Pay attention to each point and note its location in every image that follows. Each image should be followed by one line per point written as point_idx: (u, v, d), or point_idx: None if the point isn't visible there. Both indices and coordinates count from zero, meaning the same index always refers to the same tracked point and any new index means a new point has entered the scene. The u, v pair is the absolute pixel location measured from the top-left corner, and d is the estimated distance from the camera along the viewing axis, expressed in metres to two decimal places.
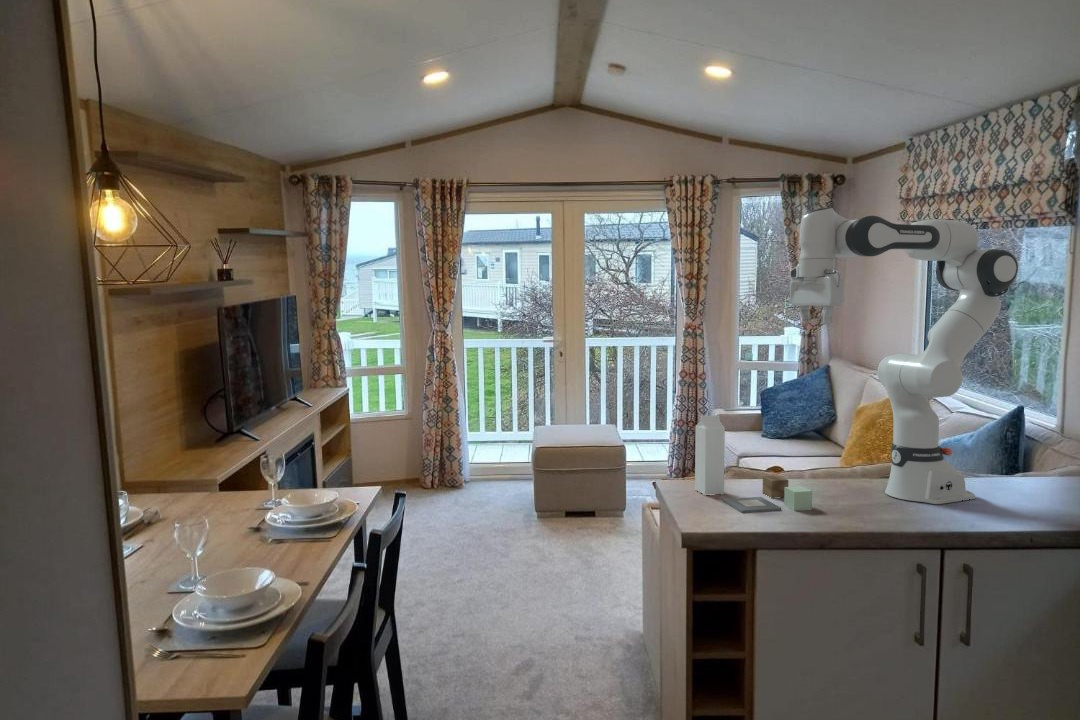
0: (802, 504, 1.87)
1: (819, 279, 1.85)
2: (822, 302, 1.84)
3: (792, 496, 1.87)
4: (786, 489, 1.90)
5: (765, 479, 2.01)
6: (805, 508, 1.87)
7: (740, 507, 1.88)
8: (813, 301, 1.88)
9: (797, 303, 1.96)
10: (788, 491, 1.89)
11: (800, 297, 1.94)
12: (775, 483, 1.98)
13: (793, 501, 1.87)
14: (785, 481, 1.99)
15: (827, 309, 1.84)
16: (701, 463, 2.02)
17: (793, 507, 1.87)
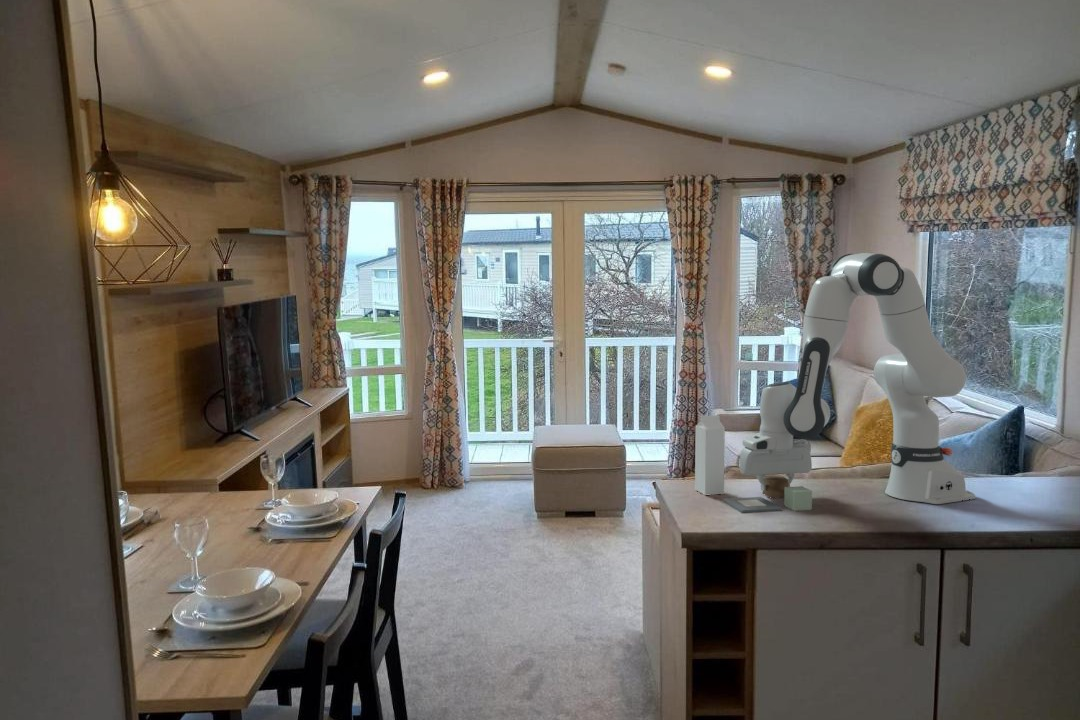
0: (802, 503, 1.87)
1: (793, 449, 1.99)
2: (798, 470, 2.00)
3: (792, 496, 1.87)
4: (786, 489, 1.90)
5: (765, 479, 2.01)
6: (805, 508, 1.87)
7: (740, 507, 1.88)
8: (785, 470, 1.99)
9: (758, 473, 1.98)
10: (788, 491, 1.89)
11: (763, 467, 1.98)
12: (775, 483, 1.98)
13: (793, 501, 1.87)
14: (785, 481, 1.99)
15: None
16: (701, 463, 2.02)
17: (793, 507, 1.87)
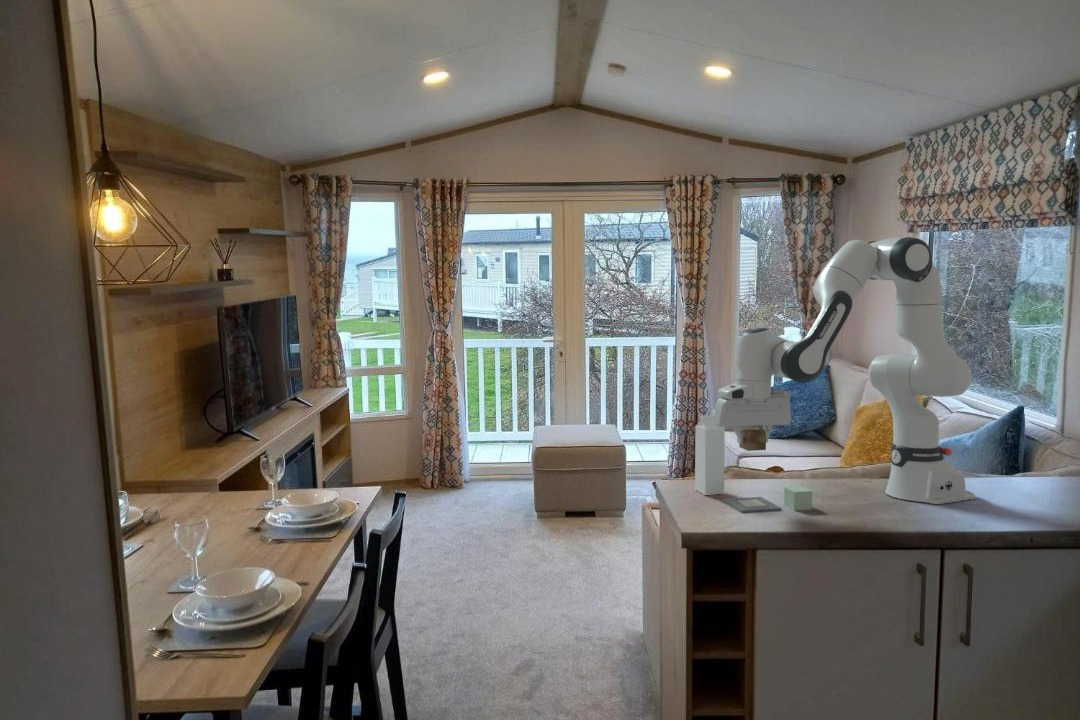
0: (802, 503, 1.87)
1: (771, 400, 1.88)
2: (777, 421, 1.89)
3: (792, 496, 1.87)
4: (786, 489, 1.90)
5: (742, 431, 1.90)
6: (805, 508, 1.87)
7: (740, 507, 1.88)
8: (762, 421, 1.88)
9: (733, 424, 1.87)
10: (788, 491, 1.89)
11: (739, 418, 1.87)
12: (752, 434, 1.87)
13: (793, 501, 1.87)
14: (763, 432, 1.88)
15: None
16: (701, 463, 2.02)
17: (793, 507, 1.87)
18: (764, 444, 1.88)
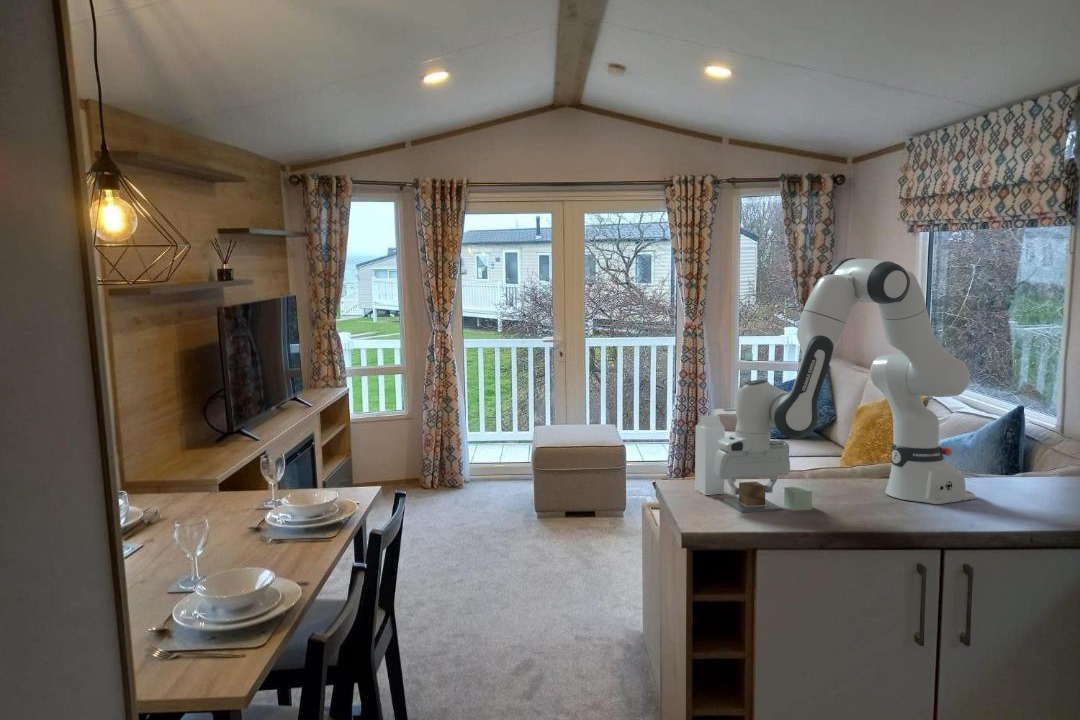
0: (802, 503, 1.87)
1: (771, 451, 1.89)
2: (776, 473, 1.90)
3: (792, 496, 1.87)
4: (786, 489, 1.90)
5: (741, 485, 1.92)
6: (805, 508, 1.87)
7: (740, 507, 1.88)
8: (761, 472, 1.89)
9: (733, 476, 1.88)
10: (788, 491, 1.89)
11: (738, 470, 1.88)
12: (751, 490, 1.88)
13: (793, 501, 1.87)
14: (762, 487, 1.89)
15: None
16: (701, 463, 2.02)
17: (793, 507, 1.87)
18: (763, 499, 1.89)
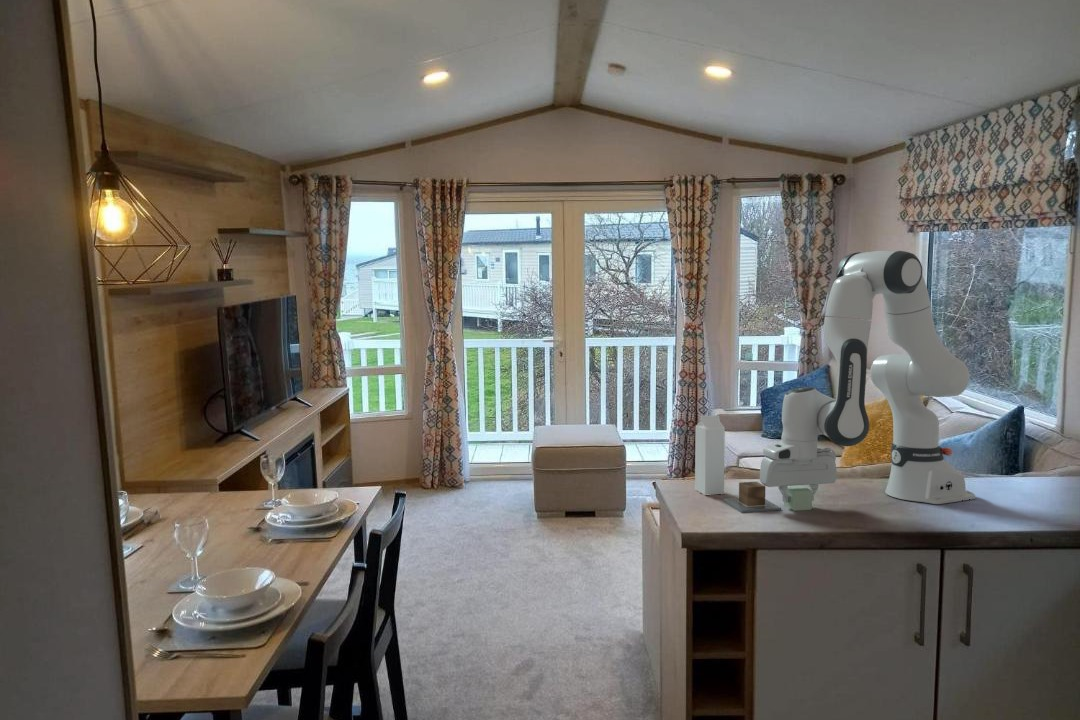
0: (802, 503, 1.87)
1: (817, 459, 1.87)
2: (823, 480, 1.88)
3: (792, 496, 1.87)
4: None
5: (741, 485, 1.92)
6: (805, 508, 1.87)
7: (740, 507, 1.88)
8: (808, 480, 1.87)
9: (780, 484, 1.86)
10: (788, 491, 1.89)
11: (785, 478, 1.86)
12: (751, 490, 1.88)
13: (793, 500, 1.87)
14: (762, 487, 1.89)
15: None
16: (701, 463, 2.02)
17: (793, 507, 1.87)
18: (763, 499, 1.89)
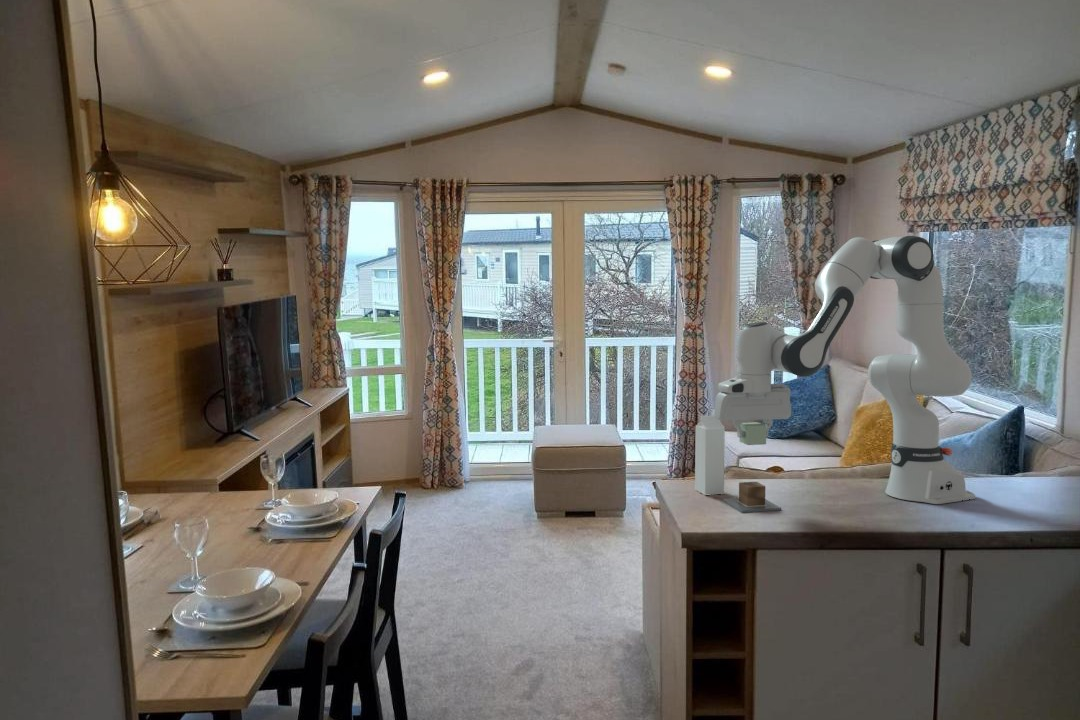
0: (757, 438, 1.87)
1: (772, 394, 1.88)
2: (777, 416, 1.89)
3: (747, 430, 1.88)
4: None
5: (741, 485, 1.92)
6: (759, 442, 1.88)
7: (740, 507, 1.88)
8: (762, 415, 1.88)
9: (734, 418, 1.87)
10: (743, 426, 1.90)
11: (739, 412, 1.87)
12: (751, 490, 1.88)
13: (747, 435, 1.87)
14: (762, 487, 1.89)
15: None
16: (701, 463, 2.02)
17: (747, 441, 1.87)
18: (763, 499, 1.89)
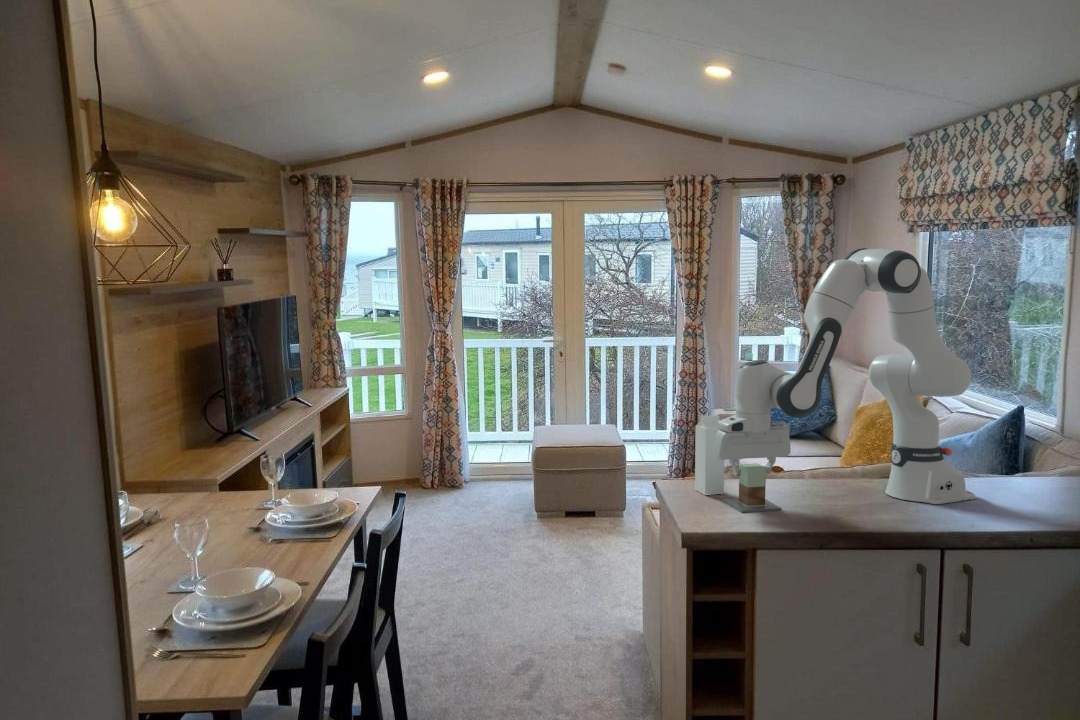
0: (756, 480, 1.88)
1: (771, 432, 1.89)
2: (776, 453, 1.90)
3: (746, 473, 1.88)
4: (741, 466, 1.92)
5: (741, 485, 1.92)
6: (759, 484, 1.89)
7: (740, 507, 1.88)
8: (762, 453, 1.89)
9: (733, 457, 1.88)
10: (742, 468, 1.91)
11: (739, 451, 1.88)
12: (751, 490, 1.88)
13: (747, 477, 1.88)
14: (762, 487, 1.89)
15: None
16: (701, 463, 2.02)
17: (747, 483, 1.88)
18: (763, 499, 1.89)
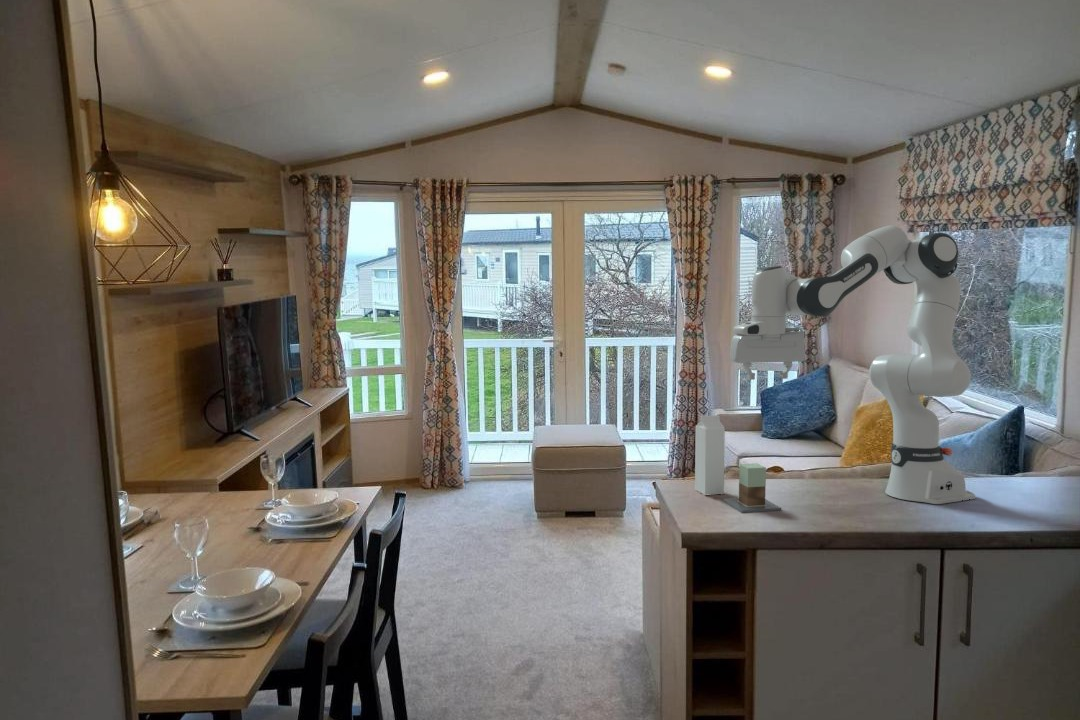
0: (756, 480, 1.88)
1: (786, 336, 1.92)
2: (791, 358, 1.93)
3: (746, 473, 1.88)
4: (741, 466, 1.92)
5: (741, 485, 1.92)
6: (759, 484, 1.89)
7: (740, 507, 1.88)
8: (777, 357, 1.92)
9: (749, 360, 1.91)
10: (742, 468, 1.91)
11: (754, 354, 1.91)
12: (751, 490, 1.88)
13: (747, 477, 1.88)
14: (762, 487, 1.89)
15: None
16: (701, 463, 2.02)
17: (747, 483, 1.88)
18: (763, 499, 1.89)
